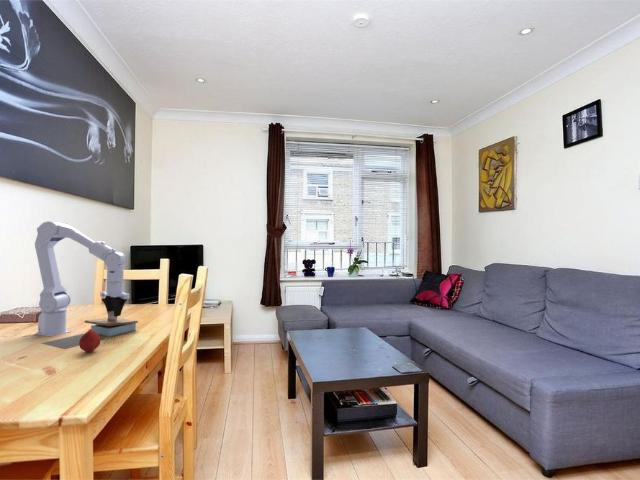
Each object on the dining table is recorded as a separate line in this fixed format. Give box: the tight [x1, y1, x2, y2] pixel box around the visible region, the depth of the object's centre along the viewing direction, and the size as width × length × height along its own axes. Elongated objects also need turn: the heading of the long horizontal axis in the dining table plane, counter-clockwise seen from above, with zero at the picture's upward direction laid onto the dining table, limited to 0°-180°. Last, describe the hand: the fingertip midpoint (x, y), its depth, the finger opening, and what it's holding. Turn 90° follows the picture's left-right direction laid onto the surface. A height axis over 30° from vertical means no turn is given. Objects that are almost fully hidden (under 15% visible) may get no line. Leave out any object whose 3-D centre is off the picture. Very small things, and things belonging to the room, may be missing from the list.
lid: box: [84, 311, 139, 326], centre depth 135 cm, size 13×13×4 cm
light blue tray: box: [90, 323, 137, 338], centre depth 135 cm, size 11×11×4 cm
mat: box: [40, 333, 106, 350], centre depth 122 cm, size 14×14×1 cm
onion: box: [79, 327, 102, 353], centre depth 111 cm, size 6×6×8 cm
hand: (114, 315), depth 135 cm, fingers closed on lid, 3 cm apart
